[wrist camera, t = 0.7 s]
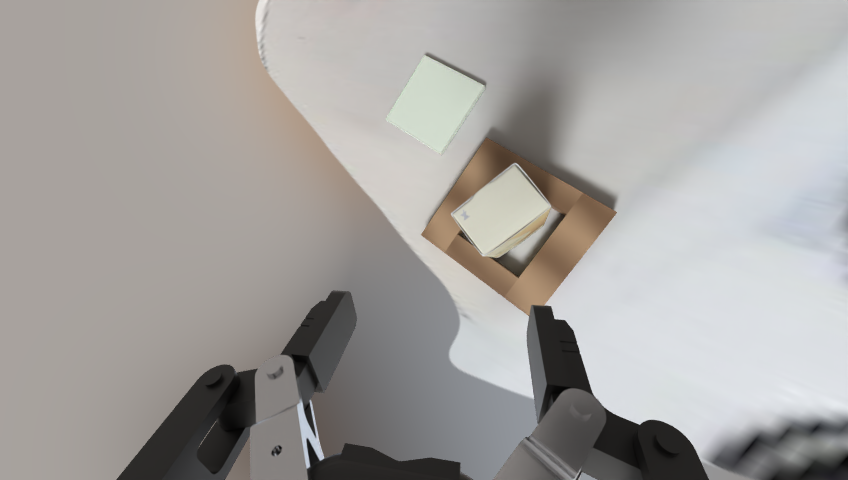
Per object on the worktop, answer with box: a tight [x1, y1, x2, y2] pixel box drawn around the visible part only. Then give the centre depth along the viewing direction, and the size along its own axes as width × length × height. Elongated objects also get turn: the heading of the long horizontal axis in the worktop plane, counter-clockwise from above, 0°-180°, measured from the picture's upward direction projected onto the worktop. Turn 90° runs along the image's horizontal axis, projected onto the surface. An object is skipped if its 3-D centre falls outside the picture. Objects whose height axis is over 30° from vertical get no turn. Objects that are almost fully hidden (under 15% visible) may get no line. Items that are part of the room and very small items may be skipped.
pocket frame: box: [421, 137, 617, 316], centre depth 33 cm, size 13×15×2 cm
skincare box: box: [451, 163, 551, 258], centre depth 28 cm, size 6×4×12 cm
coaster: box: [385, 55, 485, 155], centre depth 37 cm, size 9×9×1 cm
